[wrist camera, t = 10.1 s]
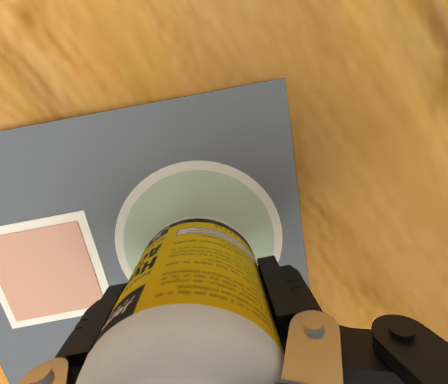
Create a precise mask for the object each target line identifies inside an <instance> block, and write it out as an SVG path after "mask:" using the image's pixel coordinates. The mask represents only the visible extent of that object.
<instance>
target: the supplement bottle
mask: <svg viewBox="0 0 448 384" xmlns="http://www.w3.org/2000/svg"><path fill="white" fill-rule="evenodd" d="M284 356H285V353H284V350H283V347H282V344H281V341H280V337H279V334H278V331H277V328H276V325H275V321H274V318H273V315H272V311H271V308H270V305H269V302H268V298H267V295H266V292H265V289H264V286H263V282H262V279H261V276H260V272H259V269H258V265H257V262H256V259H255V256H254V254H253V251H252V249H251V247H250V244H249V243H248V241H247V240H246V238H245V237H244V236H243V235H242V234H241V233H240V232H239V231H238V230H237V229H236V228H235V227H233V226H232V225H230V224H229V223H227V222H225V221H222V220H220V219H217V218H213V217H207V216H191V217H185V218H181V219H178V220H175V221H173V222H171V223H169V224H168V225H166V226H165V227H163V228H162V229H161V230H160V231H159V232H157V234H156V235H155V236H154V237H153V238H152V239H151V241H150V242H149V244H148V245H147V247H146V248H145V250H144V252H143V254H142V256H141V258H140V260H139V262H138V264H137V266H136V267H135V269H134V271H133V273H132V275H131V277H130V279H129V280H128V282H127V284H126V286H125V288H124V290H123V292H122V293H121V295H120V297H119V299H118V301H117V303H116V305H115V306H114V308H113V310H112V312H111V314H110V315H109V317H108V319H107V321H106V323H105V325H104V326H103V328H102V330H101V332H100V334H99V335H98V337H97V339H96V341H95V342H94V344H93V346H92V348H91V350H90V351H89V353H88V355H87V357H86V360H85V363H84V365H83V367H82V369H81V371H80V373H79V375H78V378H77V380H76V384H274V383H275V382H276V381H279V382H280V380H281V375H282V369H283V363H284Z"/></svg>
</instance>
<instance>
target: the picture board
mask: <svg viewBox="0 0 448 384" xmlns="http://www.w3.org/2000/svg"><path fill="white" fill-rule="evenodd" d="M191 216H207V217H213V218H217V219H220V220H222V221H225V222H227V223H229V224H230V225H232V226H233V227H235V228H236V229H237V230H238V231H239V232H240V233H241V234H242V235H243V236H244V237H245V238H246V240H247V241H248V243H249V244H250V247H251V249H252V251H253V254H254V256H255V259H256V262H257V258H262V257H267V256H272V255H274V256H275V258H276V260H277V262H278V264H279V266H285V265H291V266H292V267H294V268H295V269H297V270H298V271H299V272H300V274H301V276H302V278H303V280H304V281H305V283H306V284H307V287H308V288H309V281H308V273H307V264H306V255H305V247H304V238H303V229H302V220H301V212H300V203H299V194H298V186H297V177H296V168H295V160H294V151H293V142H292V133H291V125H290V116H289V107H288V99H287V90H286V81H285V78H281V79H276V80H270V81H265V82H260V83H254V84H249V85H244V86H238V87H233V88H228V89H222V90H217V91H212V92H206V93H201V94H196V95H190V96H185V97H180V98H174V99H169V100H164V101H158V102H153V103H148V104H142V105H137V106H132V107H127V108H121V109H116V110H111V111H105V112H100V113H95V114H89V115H84V116H79V117H73V118H68V119H63V120H57V121H52V122H47V123H41V124H36V125H31V126H25V127H20V128H15V129H9V130H4V131H0V365H1V367H2V370H3V372H4V374H5V376H6V378H7V380H8V382H9V384H18V383H19V381H20V380H21V379H22V378H23V377H24V376H25V375H26V374H27V373H28V372H29V371H31V370H32V369H33V368H35V367H36V366H38V365H39V364H41V363H43V362H45V361H47V360H50V359H53V358H55V356H56V355H57V353H58V352H59V350H60V349H61V347H62V346H63V344H64V343H65V341H66V340H67V338H68V337H69V335H70V334H71V332H72V331H73V330H74V328H75V326H76V325H77V323H78V322H80V319H81V317H82V316H83V314H84V313H85V311H86V310H87V309H88V308H89V307H90V306H92V305H93V304H94V303H95V302H96V301H97V300H100V299H101V298H102V296H103V294H104V293H105V291H106V290H107V288H108V287H109V286H112V285H117V284H122V283H127V282H128V280H129V279H130V277H131V275H132V273H133V271H134V269H135V267H136V266H137V264H138V262H139V260H140V258H141V256H142V254H143V252H144V250H145V248H146V247H147V245H148V244H149V242H150V241H151V239H152V238H153V237H154V236H155V235H156V234H157V232H159V231H160V230H161V229H162V228H163V227H165V226H166V225H168V224H169V223H171V222H173V221H175V220H178V219H181V218H185V217H191ZM257 265H258V264H257Z"/></svg>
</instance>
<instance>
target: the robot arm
mask: <svg viewBox="0 0 448 384" xmlns="http://www.w3.org/2000/svg"><path fill="white" fill-rule="evenodd" d="M257 264H258V269H259V272H260V276H261V279H262V282H263V286H264V289H265V292H266V295H267V298H268V302H269V305H270V308H271V311H272V315H273V318H274V321H275V325H276V328H277V331H278V334H279V337H280V341H281V344H282V347H283V350H284V353H285V356H284V363H283V369H282V375H281V380H280V382H279V381H276V382H275V383H274V384H448V342H446V341H445V340H443V339H442V338H441V337H439V336H438V335H436V334H435V333H434V332H432V331H431V330H430V329H428V328H427V327H425V326H424V325H423V324H421V323H419V322H418V321H416V320H414V319H411V318H409V317H405V316H401V315H384V316H380V317H378V318H377V319H375V320H374V322H373V323H372V330H371V329H357V328H348V327H344V326H341V325H338V323H337V321H336V320H335V319H334V318H333V317H331V316H330V315H328V314H327V313H324V312H323V311H322V310H321V308H320V306H319V305H318V303H317V301H316V299H315V298H314V296H313V294H312V293H311V291H310V289H309V288H308V287H307V284H306V283H305V281H304V280H303V278H302V276H301V274H300V272H299V271H298V270H297V269H295V268H294V267H292V266H291V265H285V266H279V264H278V262H277V260H276V258H275V256H274V255H272V256H267V257H262V258H257ZM126 284H127V283H122V284H117V285H112V286H109V287H108V288H107V290H106V291H105V293H104V294H103V296H102V298H101V299H100V300H97V301H96V302H95V303H94V304H93V305H92V306H90V307H89V308H88V309H87V310H86V311H85V313H84V314H83V316H82V317H81V319H80V322H78V323H77V325H76V326H75V328H74V330H73V331H72V332H71V334H70V335H69V337H68V338H67V340H66V341H65V343H64V344H63V346H62V347H61V349H60V350H59V352H58V353H57V355H56V356H55V358H53V359H50V360H47V361H45V362H43V363H41V364H39V365H38V366H36V367H35V368H33V369H32V370H31V371H29V372H28V373H27V374H26V375H25V376H24V377H23V378H22V379H21V380H20V381H19V383H18V384H76V380H77V378H78V375H79V373H80V371H81V369H82V367H83V365H84V363H85V360H86V357H87V355H88V353H89V351H90V350H91V348H92V346H93V344H94V342H95V341H96V339H97V337H98V335H99V334H100V332H101V330H102V328H103V326H104V325H105V323H106V321H107V319H108V317H109V315H110V314H111V312H112V310H113V308H114V306H115V305H116V303H117V301H118V299H119V297H120V295H121V293H122V292H123V290H124V288H125V286H126Z"/></svg>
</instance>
